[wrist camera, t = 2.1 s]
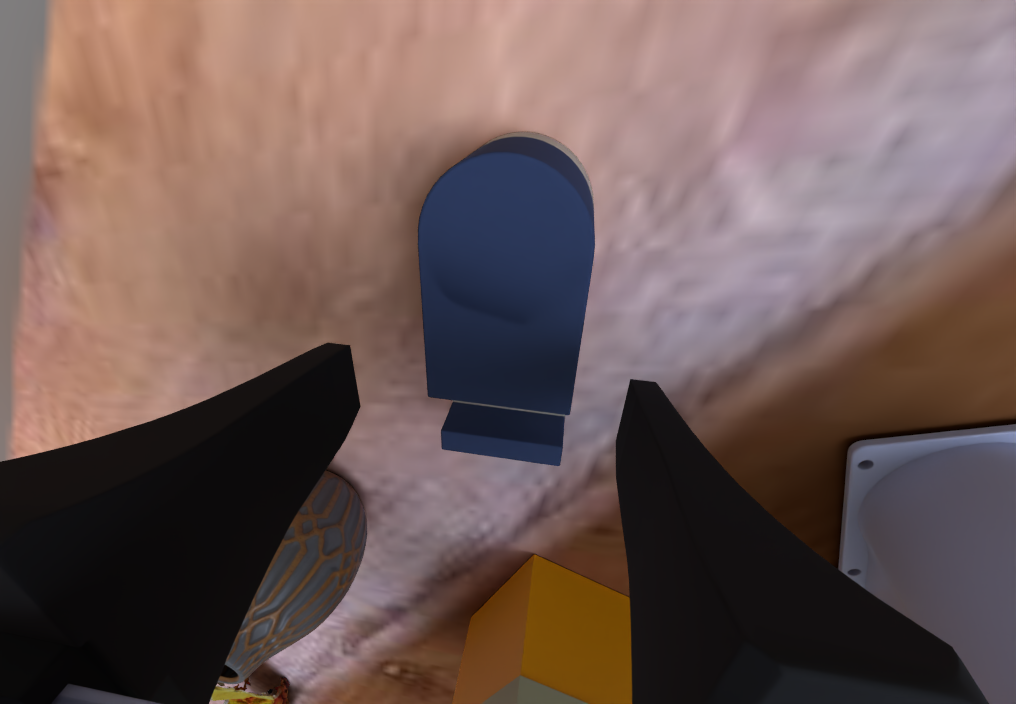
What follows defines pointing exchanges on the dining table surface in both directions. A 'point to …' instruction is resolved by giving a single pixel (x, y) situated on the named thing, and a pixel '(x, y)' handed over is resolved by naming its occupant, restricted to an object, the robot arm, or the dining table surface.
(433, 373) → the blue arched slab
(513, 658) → the orange juice
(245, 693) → the origami crane
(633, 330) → the dining table surface
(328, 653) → the dining table surface
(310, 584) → the vase
